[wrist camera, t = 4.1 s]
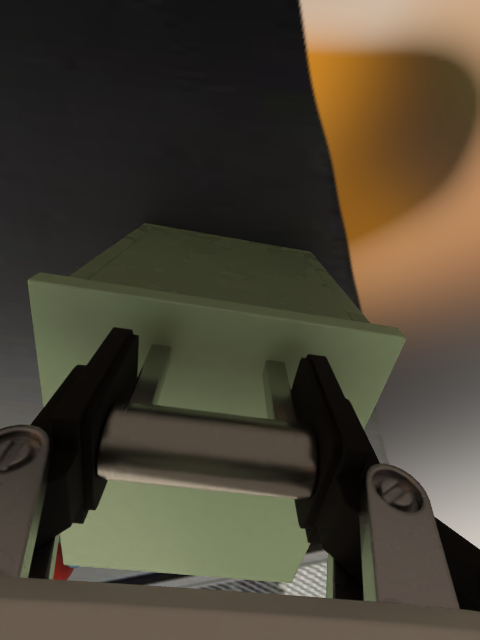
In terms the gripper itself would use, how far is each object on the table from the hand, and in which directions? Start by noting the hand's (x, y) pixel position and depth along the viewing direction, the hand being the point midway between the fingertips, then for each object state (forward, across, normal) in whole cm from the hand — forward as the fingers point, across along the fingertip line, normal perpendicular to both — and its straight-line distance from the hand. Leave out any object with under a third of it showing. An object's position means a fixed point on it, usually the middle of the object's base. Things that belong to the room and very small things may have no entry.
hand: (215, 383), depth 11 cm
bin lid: (+2, 0, +6) cm, 6 cm away
